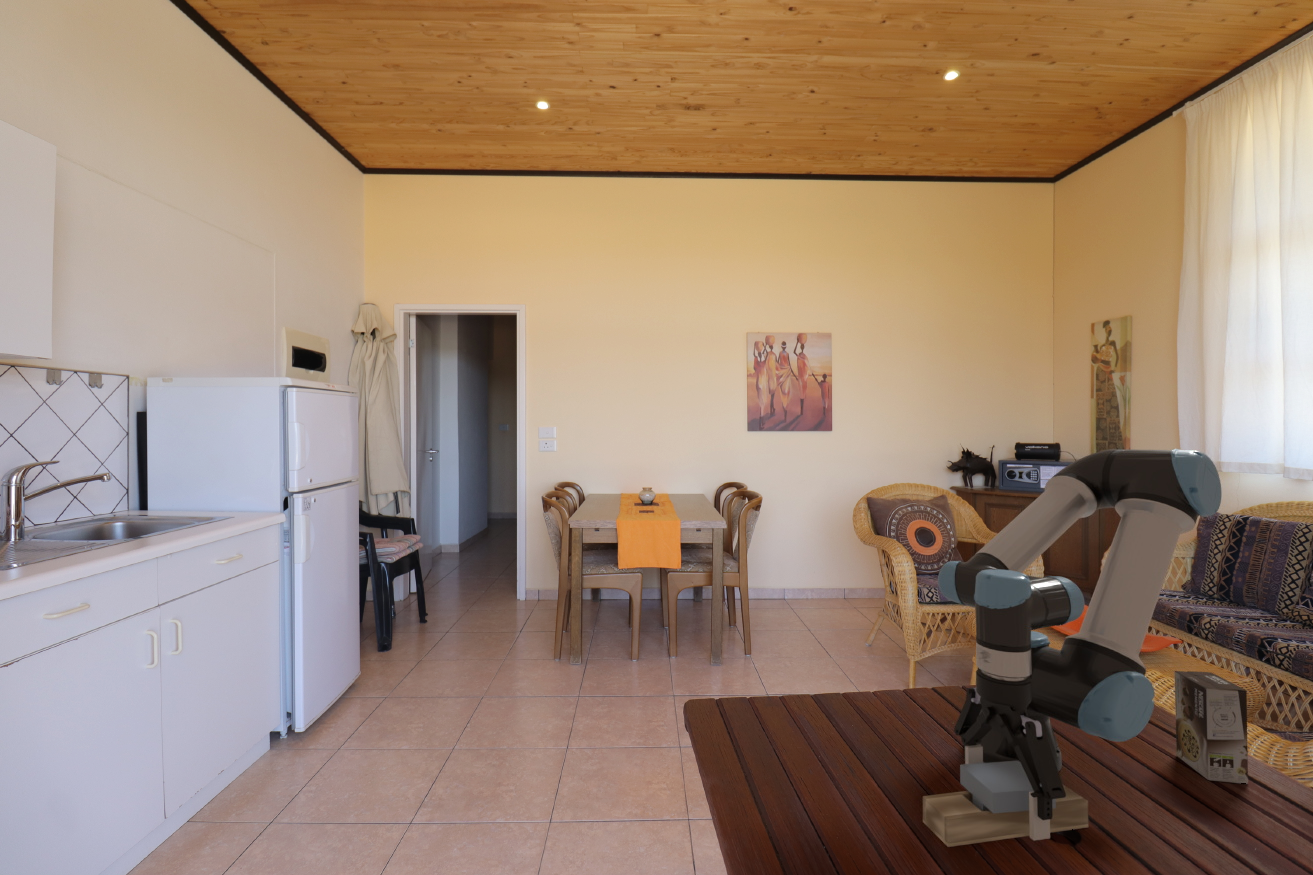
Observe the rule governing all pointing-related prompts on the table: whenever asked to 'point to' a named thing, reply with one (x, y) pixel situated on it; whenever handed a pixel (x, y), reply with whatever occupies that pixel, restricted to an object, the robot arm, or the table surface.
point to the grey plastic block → (998, 786)
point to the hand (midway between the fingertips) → (1004, 810)
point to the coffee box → (1211, 726)
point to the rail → (993, 818)
